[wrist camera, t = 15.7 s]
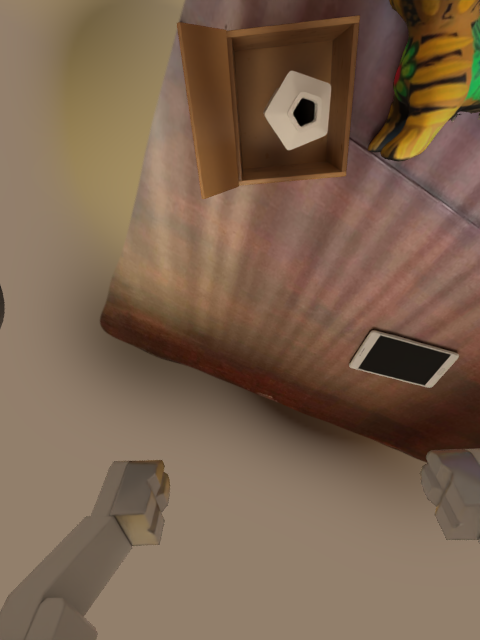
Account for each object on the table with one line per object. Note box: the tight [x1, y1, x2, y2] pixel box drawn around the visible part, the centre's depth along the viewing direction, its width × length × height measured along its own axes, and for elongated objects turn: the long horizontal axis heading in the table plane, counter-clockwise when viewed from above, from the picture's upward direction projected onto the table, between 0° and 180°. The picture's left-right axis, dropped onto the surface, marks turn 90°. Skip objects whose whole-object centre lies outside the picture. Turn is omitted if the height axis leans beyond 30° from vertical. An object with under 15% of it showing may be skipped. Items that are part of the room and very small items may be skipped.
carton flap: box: [177, 22, 239, 199], centre depth 25 cm, size 5×11×1 cm
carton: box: [226, 15, 360, 185], centre depth 30 cm, size 10×11×7 cm
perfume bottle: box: [263, 71, 331, 150], centre depth 26 cm, size 5×4×15 cm
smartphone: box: [349, 330, 459, 388], centre depth 50 cm, size 8×1×15 cm
